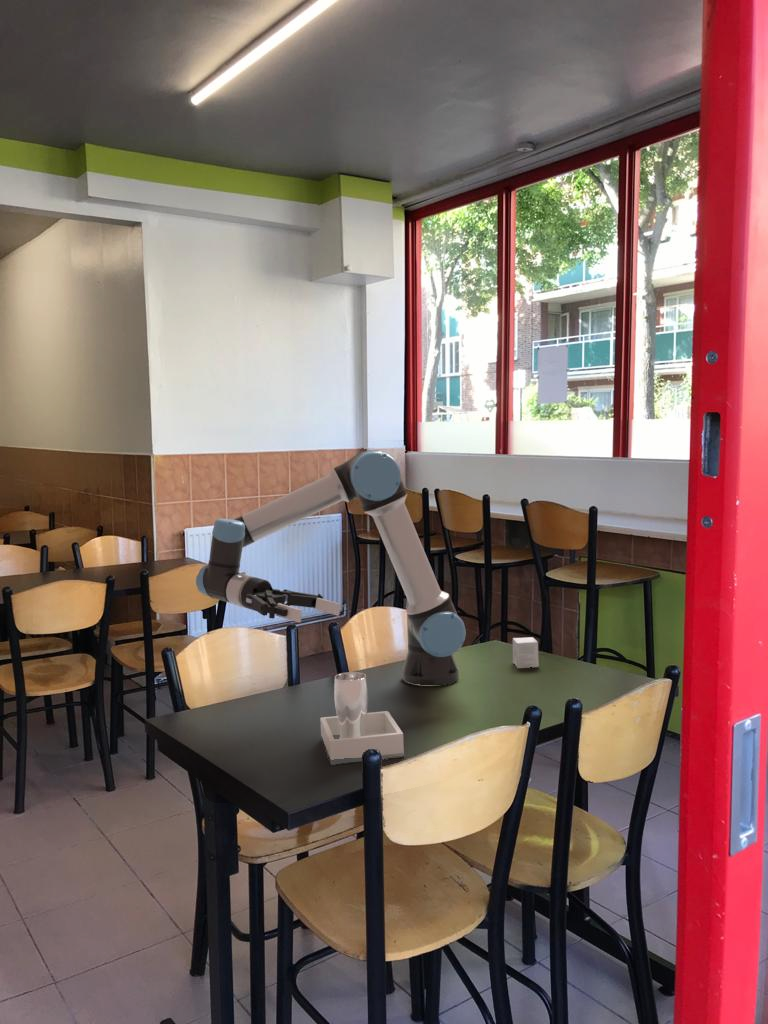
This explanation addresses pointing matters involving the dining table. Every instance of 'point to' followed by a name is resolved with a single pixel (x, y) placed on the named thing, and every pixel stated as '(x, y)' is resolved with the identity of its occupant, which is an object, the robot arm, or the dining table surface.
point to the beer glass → (351, 703)
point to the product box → (525, 652)
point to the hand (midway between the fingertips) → (320, 612)
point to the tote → (364, 737)
